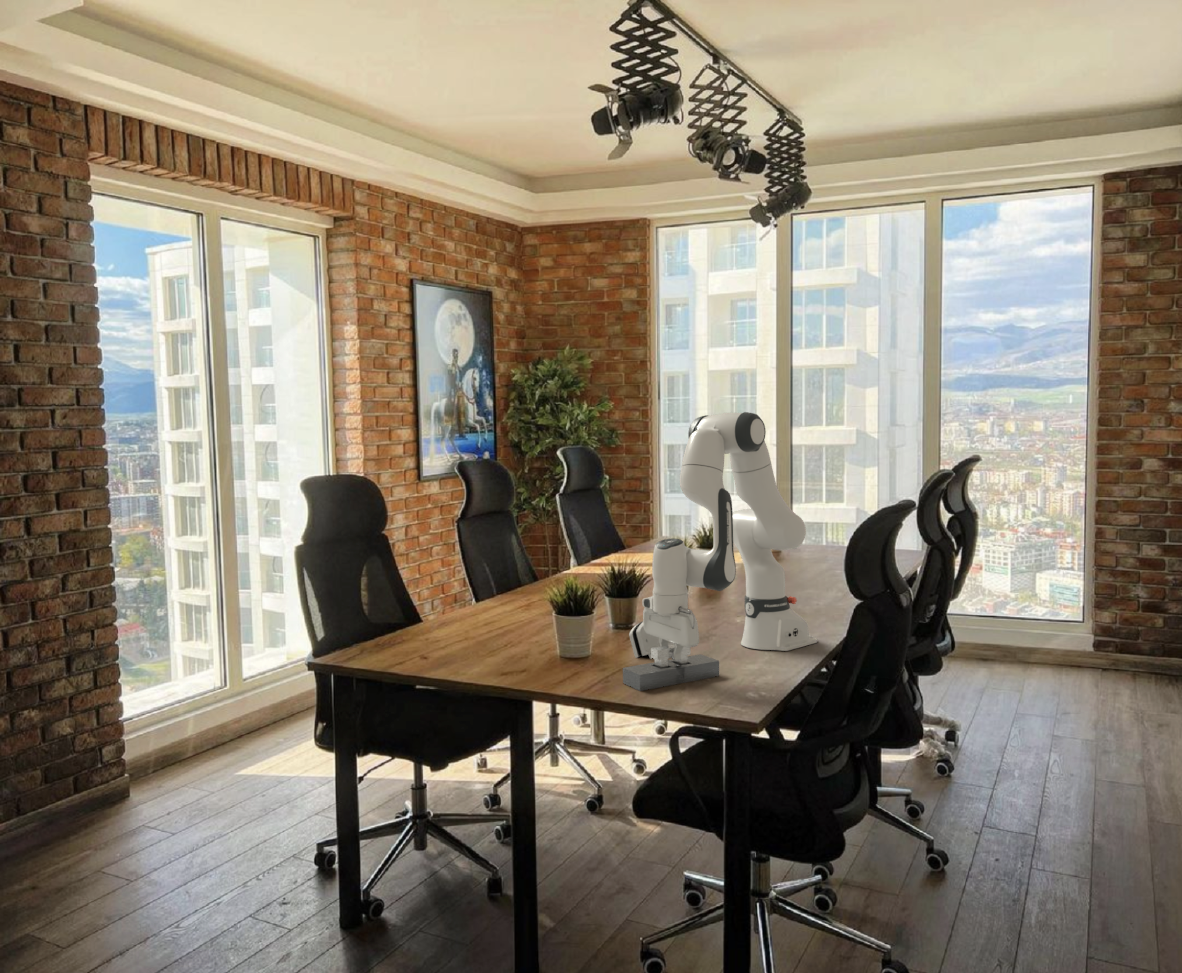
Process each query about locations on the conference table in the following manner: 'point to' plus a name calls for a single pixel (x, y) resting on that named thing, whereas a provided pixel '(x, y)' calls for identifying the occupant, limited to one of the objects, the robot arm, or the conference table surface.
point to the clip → (668, 655)
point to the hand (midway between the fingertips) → (671, 657)
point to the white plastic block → (643, 641)
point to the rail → (670, 673)
